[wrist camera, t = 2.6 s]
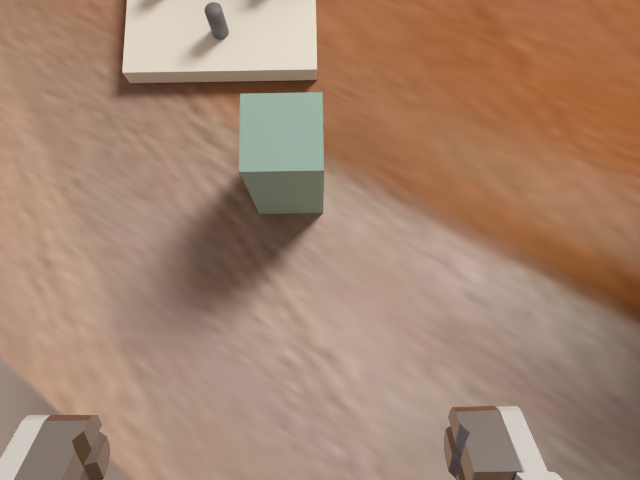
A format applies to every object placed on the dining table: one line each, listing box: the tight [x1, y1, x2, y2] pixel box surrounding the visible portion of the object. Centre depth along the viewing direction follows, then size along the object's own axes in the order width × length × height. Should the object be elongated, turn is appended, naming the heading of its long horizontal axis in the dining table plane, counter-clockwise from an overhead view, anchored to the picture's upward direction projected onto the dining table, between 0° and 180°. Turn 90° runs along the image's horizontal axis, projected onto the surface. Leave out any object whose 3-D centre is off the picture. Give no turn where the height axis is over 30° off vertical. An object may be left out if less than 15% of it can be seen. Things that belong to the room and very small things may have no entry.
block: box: [239, 92, 324, 214], centre depth 31 cm, size 4×4×9 cm
